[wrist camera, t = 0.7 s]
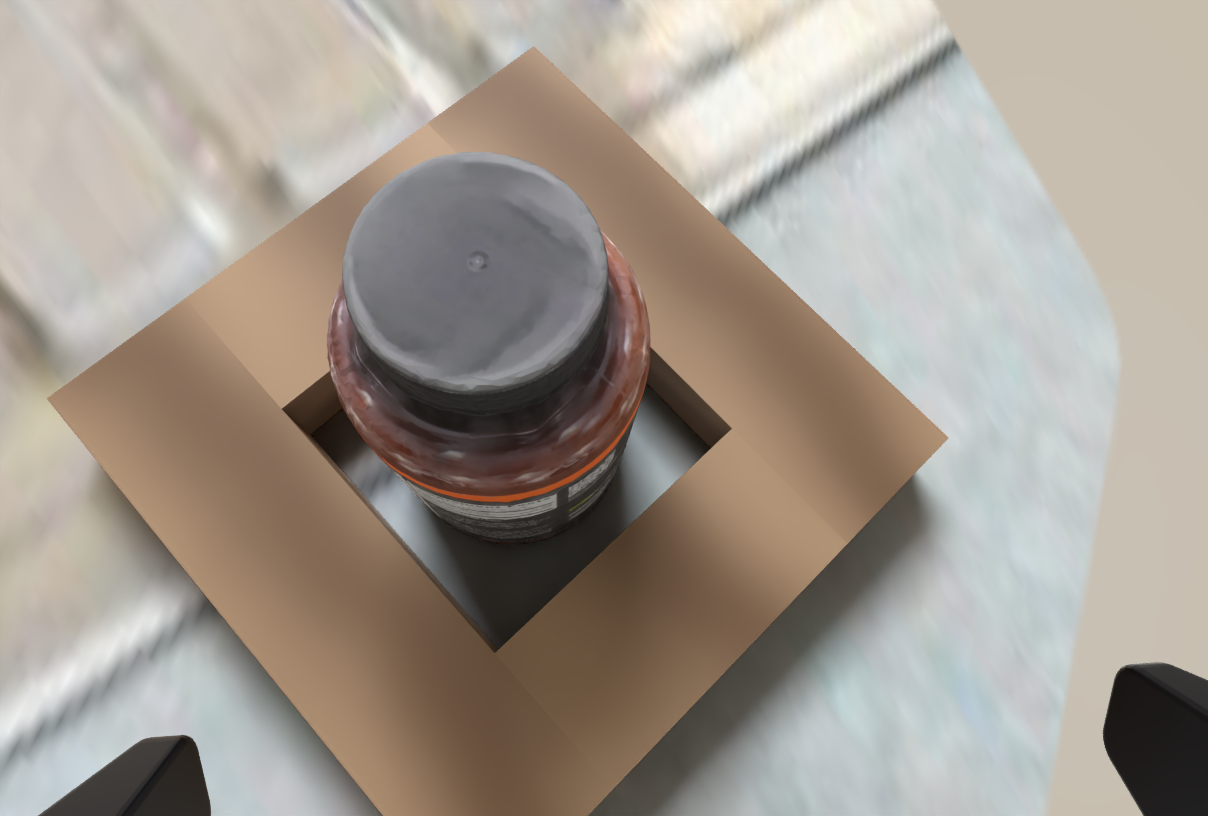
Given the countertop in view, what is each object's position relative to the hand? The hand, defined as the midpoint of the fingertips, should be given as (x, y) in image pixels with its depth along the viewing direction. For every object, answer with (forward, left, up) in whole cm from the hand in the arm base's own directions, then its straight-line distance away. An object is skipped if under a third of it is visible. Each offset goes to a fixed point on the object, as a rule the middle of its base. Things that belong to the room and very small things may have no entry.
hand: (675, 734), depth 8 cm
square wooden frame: (+3, +6, -14) cm, 15 cm away
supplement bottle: (+3, +6, -14) cm, 16 cm away
